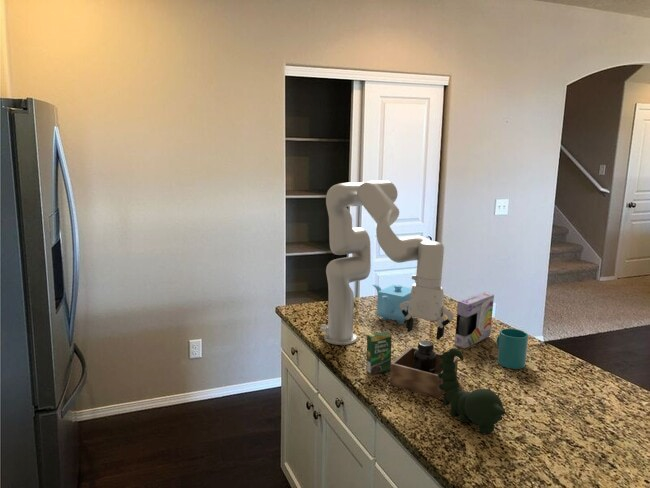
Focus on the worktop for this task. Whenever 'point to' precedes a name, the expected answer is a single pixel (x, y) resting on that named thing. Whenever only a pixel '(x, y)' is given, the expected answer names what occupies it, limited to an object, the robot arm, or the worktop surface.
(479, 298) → the cake pan box
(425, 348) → the supplement bottle
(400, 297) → the teakettle
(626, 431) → the worktop surface
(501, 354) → the cup
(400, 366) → the walnut crate
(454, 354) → the toy figurine
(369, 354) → the coffee box
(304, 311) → the worktop surface
